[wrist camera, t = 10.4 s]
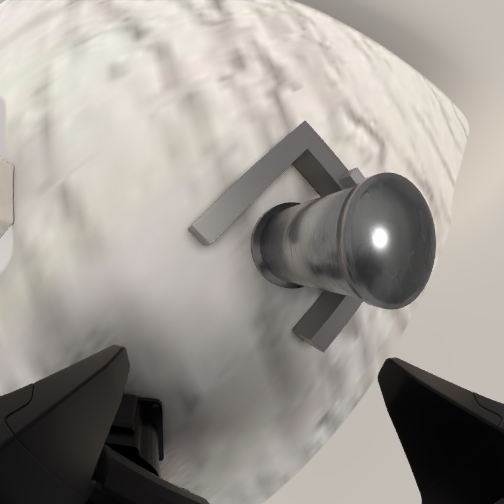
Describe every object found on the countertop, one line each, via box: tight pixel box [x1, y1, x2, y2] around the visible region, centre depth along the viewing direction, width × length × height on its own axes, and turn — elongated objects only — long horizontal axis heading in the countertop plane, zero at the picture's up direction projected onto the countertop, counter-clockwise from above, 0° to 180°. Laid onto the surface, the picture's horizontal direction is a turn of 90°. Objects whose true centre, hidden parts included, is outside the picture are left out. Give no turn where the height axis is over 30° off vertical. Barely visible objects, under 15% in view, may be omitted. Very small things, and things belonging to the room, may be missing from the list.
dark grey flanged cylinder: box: [251, 173, 436, 309], centre depth 16 cm, size 6×6×11 cm
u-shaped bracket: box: [188, 121, 366, 352], centre depth 19 cm, size 11×13×4 cm
